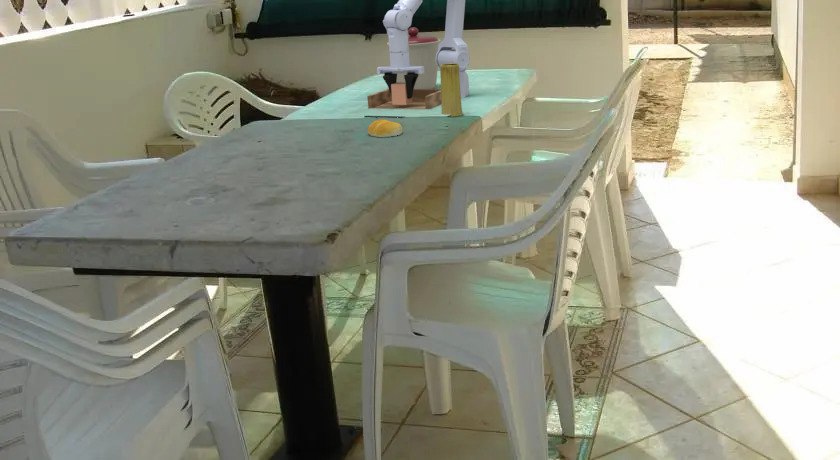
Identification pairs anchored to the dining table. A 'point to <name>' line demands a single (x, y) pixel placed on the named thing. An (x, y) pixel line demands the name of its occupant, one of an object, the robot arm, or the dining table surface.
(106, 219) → the dining table surface
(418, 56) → the canister
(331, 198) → the dining table surface
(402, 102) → the block
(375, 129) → the bread roll
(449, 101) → the vase
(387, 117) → the mat
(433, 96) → the crate
